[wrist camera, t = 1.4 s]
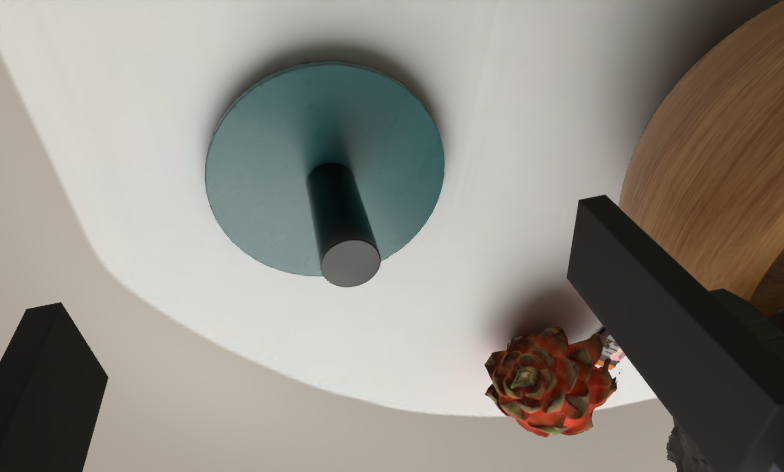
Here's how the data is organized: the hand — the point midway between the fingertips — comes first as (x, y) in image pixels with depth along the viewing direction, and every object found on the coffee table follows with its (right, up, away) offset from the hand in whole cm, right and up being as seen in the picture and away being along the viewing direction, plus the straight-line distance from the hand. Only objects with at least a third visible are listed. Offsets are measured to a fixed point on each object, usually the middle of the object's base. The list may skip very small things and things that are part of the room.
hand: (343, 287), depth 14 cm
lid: (-2, +5, +17) cm, 17 cm away
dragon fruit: (+13, -8, +31) cm, 34 cm away
